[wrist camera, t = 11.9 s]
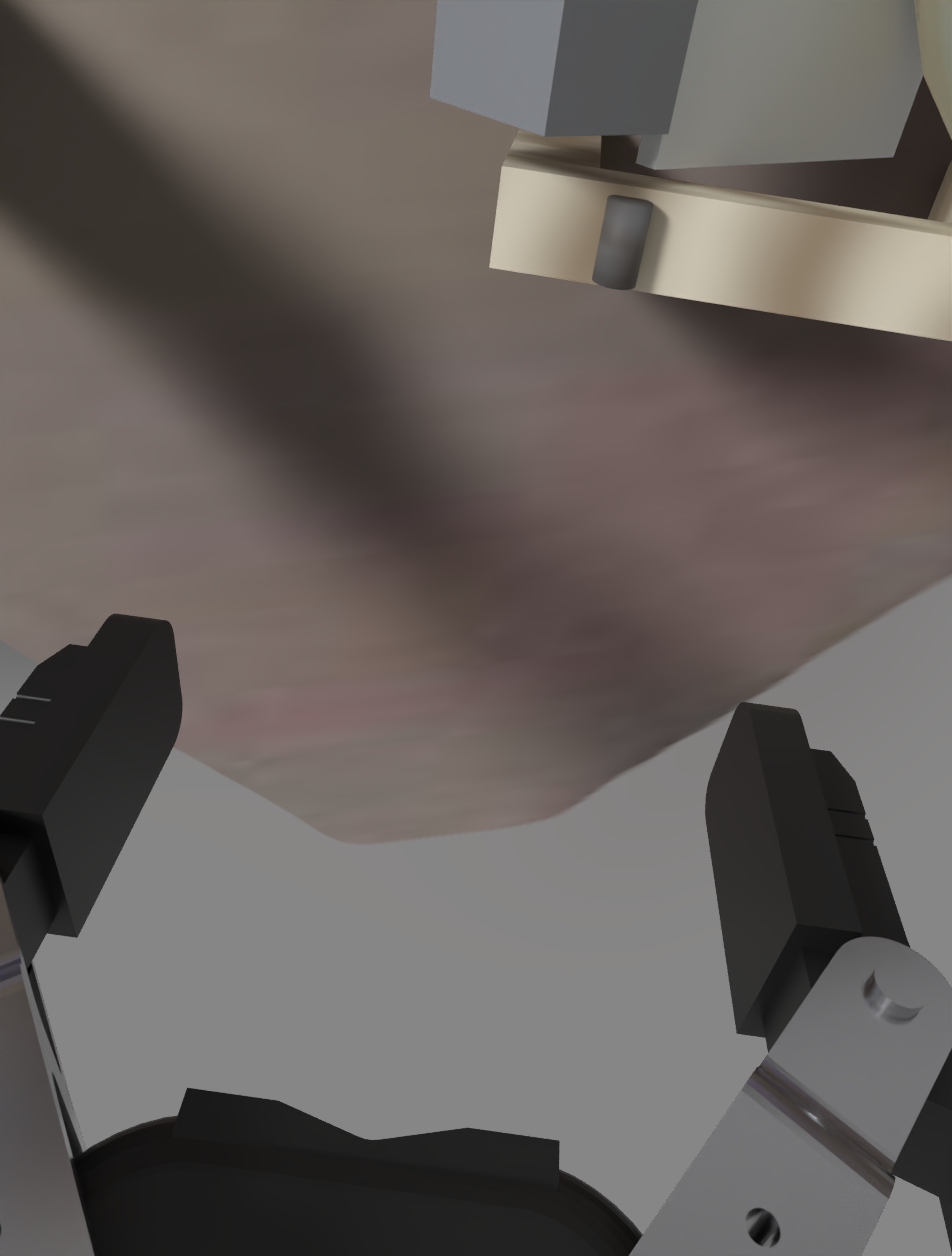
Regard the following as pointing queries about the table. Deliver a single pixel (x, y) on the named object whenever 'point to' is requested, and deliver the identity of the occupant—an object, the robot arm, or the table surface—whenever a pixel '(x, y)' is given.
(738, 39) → the grey flat block
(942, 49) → the skincare box
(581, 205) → the stand
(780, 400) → the table surface
